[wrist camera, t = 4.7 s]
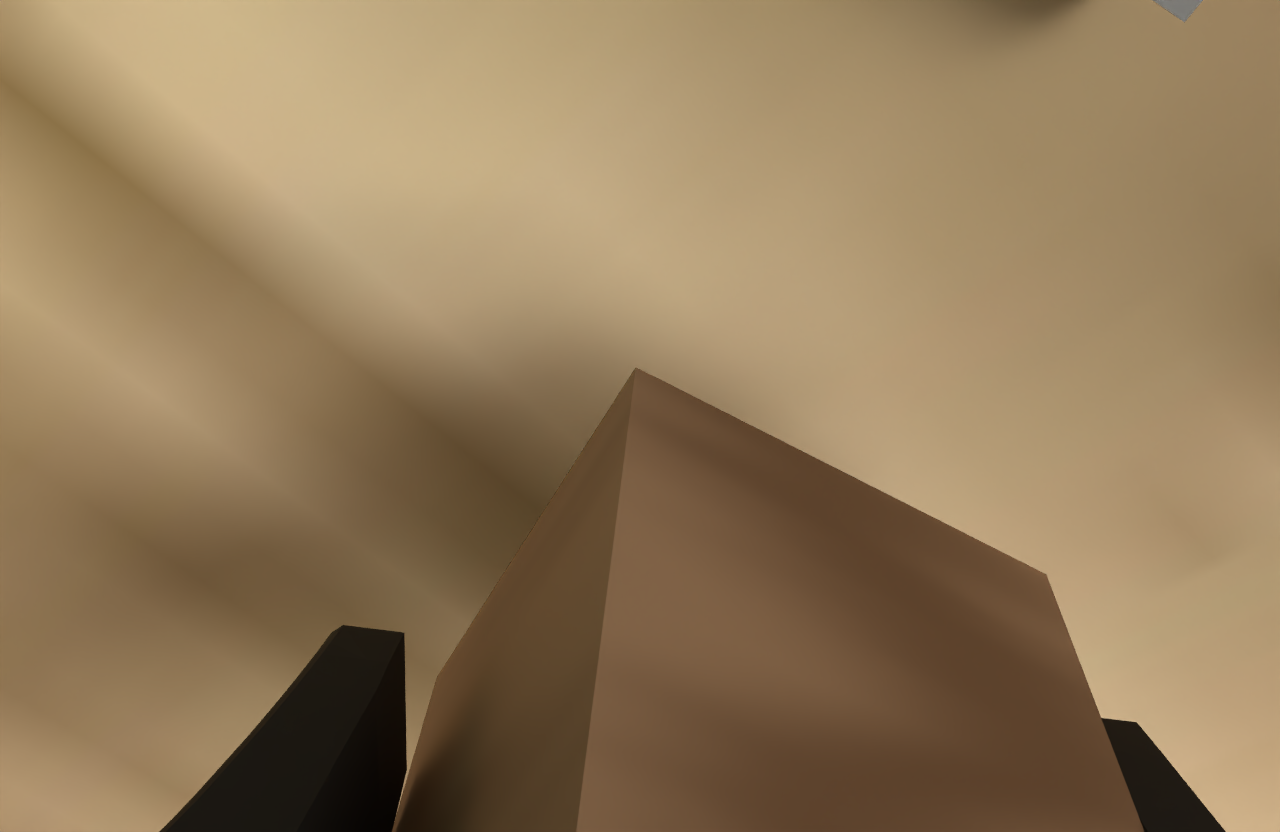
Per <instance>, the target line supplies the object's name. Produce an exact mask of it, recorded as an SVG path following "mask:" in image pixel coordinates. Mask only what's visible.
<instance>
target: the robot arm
mask: <svg viewBox="0 0 1280 832" xmlns="http://www.w3.org/2000/svg"><path fill="white" fill-rule="evenodd" d="M1101 719H1102V722H1103V724H1104V727H1105V730H1106V732H1107V735H1108V738H1109V740H1110V743H1111V745H1112V748H1113V751H1114V753H1115V756H1116V758H1117V761H1118V764H1119V766H1120V769H1121V772H1122V774H1123V777H1124V779H1125V782H1126V785H1127V787H1128V790H1129V792H1130V795H1131V798H1132V800H1133V803H1134V806H1135V808H1136V811H1137V813H1138V816H1139V819H1140V821H1141V824H1142V826H1143V829H1144V832H1225V830H1224V829H1223V828H1222V827H1221V825H1220V824H1219V823H1218V822H1217V820H1216V819H1215V818H1214V817H1213V816H1212V814H1211V813H1210V812H1209V811H1208V809H1207V808H1206V807H1205V806H1204V804H1203V803H1202V802H1201V801H1200V799H1199V798H1198V797H1197V796H1196V794H1195V793H1194V792H1193V791H1192V790H1191V788H1190V787H1189V786H1188V785H1187V783H1186V782H1185V781H1184V780H1183V778H1182V777H1181V776H1180V775H1179V773H1178V772H1177V771H1176V770H1175V768H1174V767H1173V766H1172V765H1171V763H1170V762H1169V761H1168V760H1167V759H1166V757H1165V756H1164V755H1163V754H1162V752H1161V751H1160V750H1159V749H1158V747H1157V746H1156V745H1155V744H1154V743H1153V741H1152V740H1151V739H1150V738H1149V737H1148V735H1147V734H1146V733H1145V732H1144V731H1143V729H1142V728H1141V727H1140V726H1139V725H1138V724H1137V722H1129V721H1121V720H1112V719H1104V718H1101ZM406 771H407V760H406V703H405V646H404V633H402V632H394V631H386V630H378V629H370V628H361V627H353V626H345V625H343V626H341V627H339V628H338V629H336V630H335V631H333V632H332V633H331V634H330V636H329V637H328V638H327V640H326V641H325V642H324V644H323V645H322V646H321V648H320V649H319V650H318V652H317V653H316V654H315V655H314V657H313V658H312V659H311V661H310V662H309V663H308V664H307V666H306V667H305V668H304V669H303V671H302V672H301V673H300V675H299V676H298V677H297V678H296V680H295V681H294V682H293V683H292V684H291V686H290V687H289V688H288V689H287V691H286V692H285V693H284V694H283V695H282V697H281V698H280V699H279V700H278V702H277V703H276V704H275V705H274V706H273V707H272V709H271V710H270V711H269V712H268V713H267V715H266V716H265V717H264V718H263V719H262V720H261V722H260V723H259V724H258V725H257V726H256V728H255V729H254V730H253V731H252V732H251V733H250V735H249V736H248V737H247V738H246V739H245V740H244V741H243V742H242V744H241V745H240V746H239V747H238V748H237V749H236V750H235V751H234V752H233V754H232V755H231V756H230V757H229V758H228V759H227V760H226V761H225V762H224V764H223V765H222V766H221V767H220V768H219V769H218V770H217V771H216V772H215V774H214V775H213V776H212V777H211V778H210V779H209V780H208V781H207V782H206V783H205V785H204V786H203V787H202V788H201V789H200V790H199V791H198V792H197V793H196V795H195V796H194V797H193V798H192V799H191V800H190V801H189V802H188V803H187V804H186V805H185V806H184V807H183V808H182V809H181V811H180V812H179V813H178V814H177V815H176V816H175V817H174V818H173V819H172V820H171V821H170V822H169V823H168V824H167V825H166V826H165V827H164V828H163V829H162V830H161V831H160V832H392V830H393V826H394V821H395V817H396V813H397V809H398V804H399V800H400V796H401V792H402V787H403V783H404V779H405V775H406Z"/></svg>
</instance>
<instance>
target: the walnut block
mask: <svg viewBox="0 0 1280 832" xmlns="http://www.w3.org/2000/svg"><path fill="white" fill-rule="evenodd" d="M392 832H1144V829H1143V826H1142V824H1141V821H1140V819H1139V816H1138V813H1137V811H1136V808H1135V806H1134V803H1133V800H1132V798H1131V795H1130V792H1129V790H1128V787H1127V785H1126V782H1125V779H1124V777H1123V774H1122V772H1121V769H1120V766H1119V764H1118V761H1117V758H1116V756H1115V753H1114V751H1113V748H1112V745H1111V743H1110V740H1109V738H1108V735H1107V732H1106V730H1105V727H1104V724H1103V722H1102V719H1101V717H1100V714H1099V711H1098V709H1097V706H1096V704H1095V701H1094V698H1093V696H1092V693H1091V690H1090V688H1089V685H1088V683H1087V680H1086V677H1085V675H1084V672H1083V670H1082V667H1081V664H1080V662H1079V659H1078V656H1077V654H1076V651H1075V649H1074V646H1073V643H1072V641H1071V638H1070V636H1069V633H1068V630H1067V628H1066V625H1065V623H1064V620H1063V617H1062V615H1061V612H1060V609H1059V607H1058V604H1057V602H1056V599H1055V596H1054V594H1053V591H1052V589H1051V586H1050V583H1049V581H1048V578H1047V575H1046V574H1044V573H1042V572H1040V571H1038V570H1036V569H1034V568H1032V567H1030V566H1028V565H1026V564H1024V563H1022V562H1020V561H1018V560H1016V559H1014V558H1012V557H1010V556H1008V555H1006V554H1004V553H1002V552H1000V551H998V550H997V549H995V548H993V547H991V546H989V545H987V544H985V543H983V542H981V541H979V540H977V539H975V538H973V537H971V536H969V535H967V534H965V533H963V532H961V531H959V530H957V529H955V528H953V527H951V526H949V525H947V524H945V523H943V522H941V521H939V520H937V519H935V518H933V517H931V516H929V515H927V514H925V513H923V512H921V511H919V510H917V509H915V508H913V507H911V506H909V505H907V504H905V503H903V502H901V501H899V500H897V499H895V498H893V497H892V496H890V495H888V494H886V493H884V492H882V491H880V490H878V489H876V488H874V487H872V486H870V485H868V484H866V483H864V482H862V481H860V480H858V479H856V478H854V477H852V476H850V475H848V474H846V473H844V472H842V471H840V470H838V469H836V468H834V467H832V466H830V465H828V464H826V463H824V462H822V461H820V460H818V459H816V458H814V457H812V456H810V455H808V454H806V453H804V452H802V451H800V450H798V449H796V448H794V447H792V446H790V445H788V444H787V443H785V442H783V441H781V440H779V439H777V438H775V437H773V436H771V435H769V434H767V433H765V432H763V431H761V430H759V429H757V428H755V427H753V426H751V425H749V424H747V423H745V422H743V421H741V420H739V419H737V418H735V417H733V416H731V415H729V414H727V413H725V412H723V411H721V410H719V409H717V408H715V407H713V406H711V405H709V404H707V403H705V402H703V401H701V400H699V399H697V398H695V397H693V396H691V395H689V394H687V393H685V392H683V391H681V390H680V389H678V388H676V387H674V386H672V385H670V384H668V383H666V382H664V381H662V380H660V379H658V378H656V377H654V376H652V375H650V374H648V373H646V372H644V371H642V370H640V369H638V368H635V370H634V371H633V373H632V374H631V376H630V377H629V379H628V381H627V382H626V384H625V385H624V387H623V388H622V390H621V391H620V393H619V395H618V396H617V398H616V399H615V401H614V402H613V404H612V405H611V407H610V409H609V410H608V412H607V413H606V415H605V416H604V418H603V419H602V421H601V423H600V424H599V426H598V427H597V429H596V430H595V432H594V434H593V435H592V437H591V438H590V440H589V441H588V443H587V444H586V446H585V448H584V449H583V451H582V452H581V454H580V455H579V457H578V458H577V460H576V462H575V463H574V465H573V466H572V468H571V469H570V471H569V472H568V474H567V476H566V477H565V479H564V480H563V482H562V483H561V485H560V486H559V488H558V490H557V491H556V493H555V494H554V496H553V497H552V499H551V501H550V502H549V504H548V505H547V507H546V508H545V510H544V511H543V513H542V515H541V516H540V518H539V519H538V521H537V522H536V524H535V525H534V527H533V529H532V530H531V532H530V533H529V535H528V536H527V538H526V539H525V541H524V543H523V544H522V546H521V547H520V549H519V550H518V552H517V553H516V555H515V557H514V558H513V560H512V561H511V563H510V564H509V566H508V568H507V569H506V571H505V572H504V574H503V575H502V577H501V578H500V580H499V582H498V583H497V585H496V586H495V588H494V589H493V591H492V592H491V594H490V596H489V597H488V599H487V600H486V602H485V603H484V605H483V606H482V608H481V610H480V611H479V613H478V614H477V616H476V617H475V619H474V621H473V622H472V624H471V625H470V627H469V628H468V630H467V631H466V633H465V635H464V636H463V638H462V639H461V641H460V642H459V644H458V645H457V647H456V649H455V650H454V652H453V653H452V655H451V656H450V658H449V659H448V661H447V663H446V664H445V666H444V667H443V669H442V670H441V672H440V673H439V675H438V677H437V679H436V682H435V686H434V689H433V693H432V696H431V699H430V703H429V706H428V710H427V713H426V716H425V720H424V723H423V727H422V730H421V733H420V737H419V740H418V744H417V747H416V750H415V754H414V757H413V761H412V764H411V767H410V771H409V774H408V778H407V781H406V784H405V788H404V791H403V795H402V798H401V801H400V805H399V808H398V812H397V815H396V818H395V822H394V826H393V830H392Z"/></svg>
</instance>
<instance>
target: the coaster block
mask: <svg viewBox="0 0 1280 832" xmlns="http://www.w3.org/2000/svg"><path fill="white" fill-rule="evenodd" d="M1152 1H1153V2H1155V3H1156V4H1158V5H1159V6H1161V7H1162V8H1164V9H1165V10H1167V11H1168V12H1170V13H1171V14H1173V15H1174V16H1176V17H1177V18H1179V19H1180V20H1182V21H1183V22H1185V21H1186V20H1187V19H1188V17H1189V16H1190V15H1191V14H1192V13H1193V11H1194V10H1195V9H1196V8H1197V7H1198V5H1199V4H1200V3H1201V2H1202V1H1203V0H1152Z"/></svg>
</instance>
